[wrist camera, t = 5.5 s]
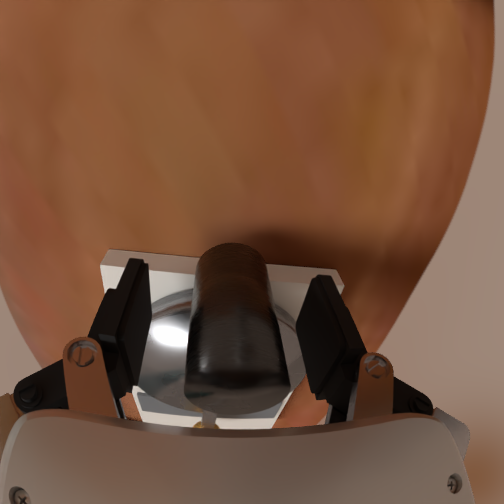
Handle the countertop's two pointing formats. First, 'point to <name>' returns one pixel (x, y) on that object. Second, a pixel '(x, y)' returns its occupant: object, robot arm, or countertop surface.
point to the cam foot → (222, 341)
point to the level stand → (182, 279)
